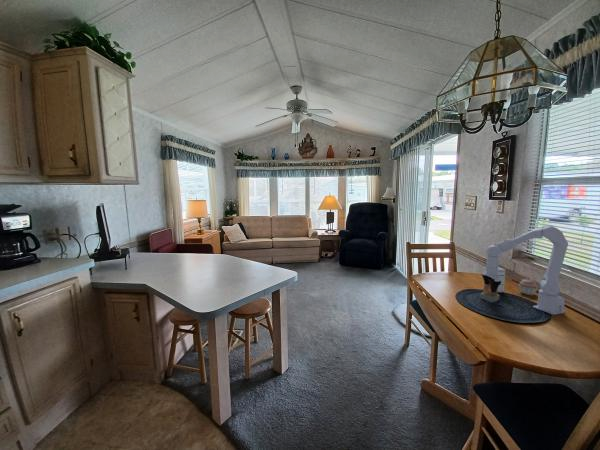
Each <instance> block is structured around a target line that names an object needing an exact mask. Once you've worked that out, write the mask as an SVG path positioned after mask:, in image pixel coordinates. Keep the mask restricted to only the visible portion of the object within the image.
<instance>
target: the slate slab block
mask: <svg viewBox="0 0 600 450" xmlns="http://www.w3.org/2000/svg"><path fill="white" fill-rule="evenodd" d="M479 296H480V297H479V299H480V298H481V300H483V299H484V301H487V302H489V303H492V304H493V303H495V302H499V301H500V294H498V293H497V295H494V296H490V295H487V294H485V293H483V292H480V295H479ZM498 300H499V301H498Z"/></svg>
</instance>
